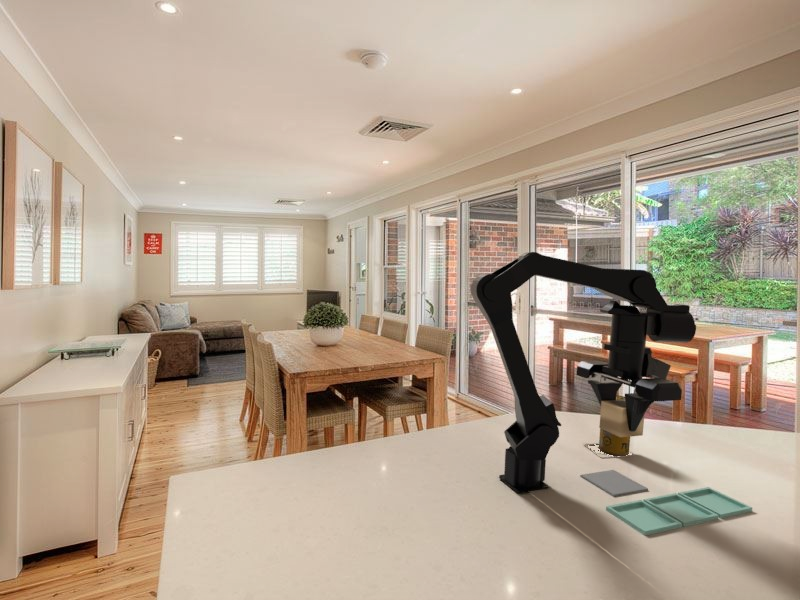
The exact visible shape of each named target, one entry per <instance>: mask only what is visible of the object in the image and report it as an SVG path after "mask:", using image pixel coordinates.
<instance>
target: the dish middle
mask: <svg viewBox="0 0 800 600" xmlns="http://www.w3.org/2000/svg"><path fill="white" fill-rule="evenodd" d="M642 501H644V502H646V503H648V504H649V505H651V506H653V507H655V508H656V509H658V510H660V511H662V512H663V513H665V514H667V515H669V516H670V517H672V518H674V519H676V520H677V521H679V522H681V523H682V527H684V528H685V527H689V526H694V525H698V524H703V523H707V522H712V521H717V520H718V519H719V518H718V516H719V515H717V514H715V513H714V512H712V511H710V510H708V509H706V508H704V507H702V506H700V505H698V504H696V503H694V502H692V501H690V500H688V499H686V498H684V497H682V496H681V495H679V494H678V493H676V492H675V493H670V494H665V495H659V496H655V497H654V496H653V497H648V498H644V499H642Z"/></svg>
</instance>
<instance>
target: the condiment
mask: <svg viewBox="0 0 800 600" xmlns="http://www.w3.org/2000/svg"><path fill="white" fill-rule="evenodd" d="M616 400H625V395H624V396H623V395H618V394H617V395H616ZM598 439H599V441H598V443H583V446H585V448H587V449H588V445H589V446H595V445H594V444H596V445H599V449H600V452H601V451H602V452H604V453H606V455H605V454H601V453H596V452H595V450H593V451H594V452H595V453H594V455H596V454H597V455H596V456H598V457H599V458H613V457H612V456H609V455H613V456H626V455H628V454H629V452H628V451H630V445H631V444H630V443H631V437H618V436H616V435H614V434H612V433H610V432H608V431H605V430H603V429H601V428H599V437H598ZM590 449H591V448H590ZM598 451H599V450H598ZM631 453H632V455H633V457H634V456H636V454H635V453H633V452H631ZM607 454H609V455H608V456H607Z"/></svg>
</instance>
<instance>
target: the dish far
mask: <svg viewBox="0 0 800 600" xmlns="http://www.w3.org/2000/svg"><path fill="white" fill-rule="evenodd" d="M677 494H679V495H681V496H682V497H684V498H686V499H688V500H690V501H692V502H694V503H696V504H698V505H700V506H702V507H704V508H706V509H708V510H710V511H712V512H714V513H715V514H717V515H719V516H718V519H725V518H729V517H733V516H737V515H743V514H745V513H752V512H753V507H752V506H750V505H748V504H745V503H743V502H741V501H739V500H737V499H736V498H733V497H731V496H729V495H726V494H725V493H722V492H720V491H718V490H715V489H714V488H712V487H709V486H706V487H702V488H696V489H690V490H686V491H680V492H678V493H677Z"/></svg>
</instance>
